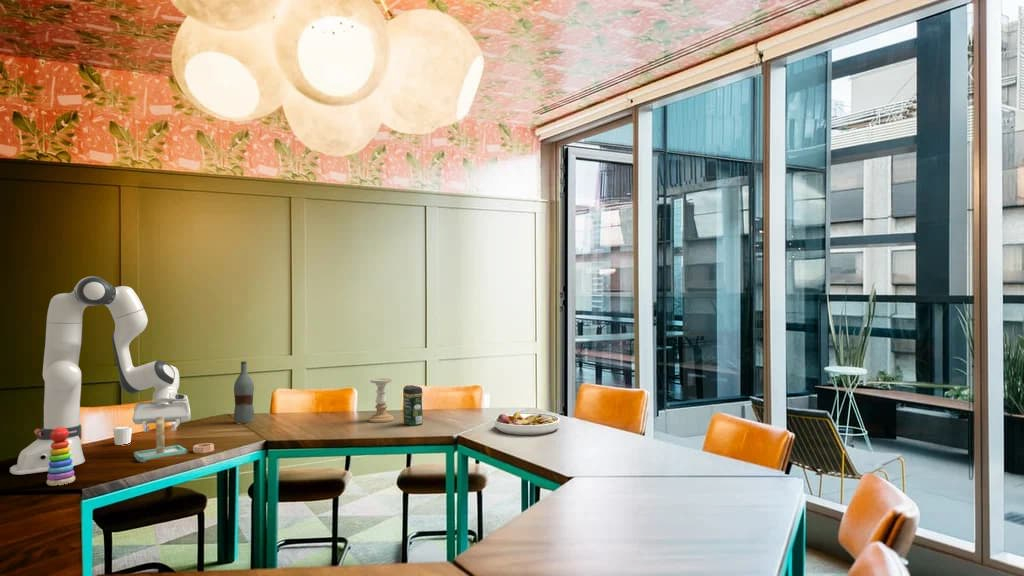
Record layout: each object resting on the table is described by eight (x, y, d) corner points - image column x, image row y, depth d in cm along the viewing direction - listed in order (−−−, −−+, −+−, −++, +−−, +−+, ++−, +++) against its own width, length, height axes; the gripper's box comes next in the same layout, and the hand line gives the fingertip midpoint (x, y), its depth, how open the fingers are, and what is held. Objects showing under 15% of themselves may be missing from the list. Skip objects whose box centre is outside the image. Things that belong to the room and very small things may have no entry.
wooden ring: (196, 455, 249) (196, 448, 250) (191, 452, 255) (191, 445, 255) (215, 452, 254) (215, 445, 254) (210, 449, 259) (210, 442, 259)
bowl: (542, 421, 313) (542, 405, 313) (571, 433, 285) (571, 415, 285) (485, 426, 301) (485, 409, 301) (509, 439, 274) (509, 421, 274)
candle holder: (363, 422, 313) (363, 380, 313) (376, 417, 325) (376, 377, 325) (386, 423, 309) (385, 381, 309) (398, 418, 321) (398, 378, 321)
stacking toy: (76, 478, 220) (76, 423, 220) (73, 484, 213) (73, 428, 213) (48, 481, 216) (48, 426, 217) (44, 488, 209) (44, 430, 209)
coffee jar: (400, 423, 308) (400, 385, 309) (415, 421, 313) (415, 383, 313) (410, 426, 301) (410, 387, 301) (425, 424, 306) (425, 385, 306)
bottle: (246, 424, 310) (246, 362, 310) (229, 424, 311) (229, 362, 312) (257, 420, 319) (257, 360, 319) (241, 420, 320) (240, 360, 321)
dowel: (157, 454, 247) (157, 418, 248) (155, 453, 250) (155, 417, 250) (165, 453, 249) (165, 417, 250) (163, 452, 251) (163, 416, 252)
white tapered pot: (123, 446, 267) (123, 429, 267) (109, 445, 269) (109, 429, 269) (136, 442, 274) (135, 426, 274) (122, 441, 275) (122, 425, 275)
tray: (140, 462, 240) (140, 456, 240) (133, 457, 248) (133, 451, 248) (186, 455, 251) (186, 449, 251) (178, 450, 259) (178, 444, 259)
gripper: (134, 398, 253) (128, 428, 243) (191, 395, 260) (187, 423, 250) (136, 407, 257) (131, 437, 248) (192, 404, 264) (189, 433, 254)
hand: (160, 430), depth 249 cm, fingers open, 8 cm apart
